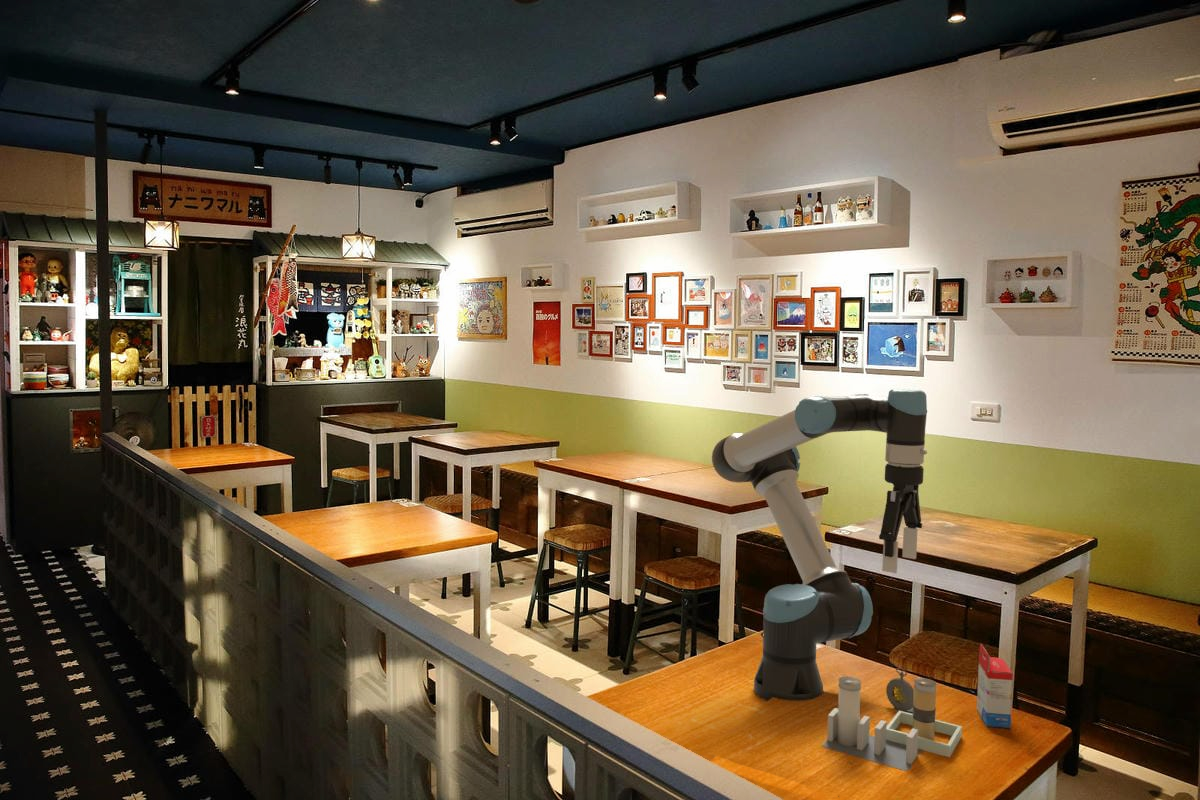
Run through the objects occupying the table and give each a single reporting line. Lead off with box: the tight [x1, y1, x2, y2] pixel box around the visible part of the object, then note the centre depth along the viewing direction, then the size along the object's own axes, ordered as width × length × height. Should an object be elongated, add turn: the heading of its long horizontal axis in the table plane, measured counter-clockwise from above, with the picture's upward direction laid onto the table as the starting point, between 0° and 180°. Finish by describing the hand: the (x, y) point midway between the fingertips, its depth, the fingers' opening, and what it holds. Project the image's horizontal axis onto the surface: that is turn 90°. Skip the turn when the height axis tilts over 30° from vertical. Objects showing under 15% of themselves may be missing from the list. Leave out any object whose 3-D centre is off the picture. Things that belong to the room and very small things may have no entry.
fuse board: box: [821, 707, 923, 772], centre depth 160 cm, size 16×10×6 cm, turn 55°
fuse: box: [837, 676, 862, 746], centre depth 162 cm, size 4×4×12 cm
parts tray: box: [886, 710, 963, 758], centre depth 164 cm, size 12×10×4 cm
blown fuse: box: [912, 677, 937, 741], centre depth 164 cm, size 4×4×12 cm
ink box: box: [976, 643, 1014, 729], centre depth 176 cm, size 8×5×15 cm, turn 168°
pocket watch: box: [885, 667, 914, 714], centre depth 179 cm, size 8×8×10 cm
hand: (899, 564), depth 176 cm, fingers open, 13 cm apart
